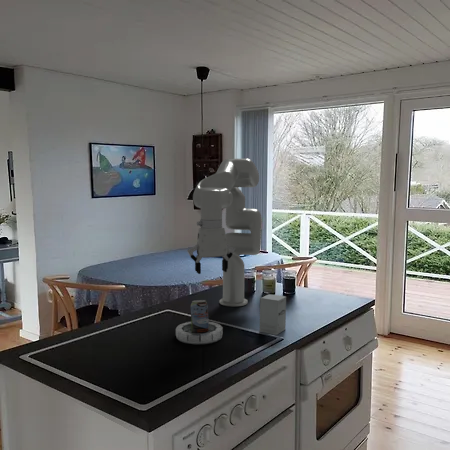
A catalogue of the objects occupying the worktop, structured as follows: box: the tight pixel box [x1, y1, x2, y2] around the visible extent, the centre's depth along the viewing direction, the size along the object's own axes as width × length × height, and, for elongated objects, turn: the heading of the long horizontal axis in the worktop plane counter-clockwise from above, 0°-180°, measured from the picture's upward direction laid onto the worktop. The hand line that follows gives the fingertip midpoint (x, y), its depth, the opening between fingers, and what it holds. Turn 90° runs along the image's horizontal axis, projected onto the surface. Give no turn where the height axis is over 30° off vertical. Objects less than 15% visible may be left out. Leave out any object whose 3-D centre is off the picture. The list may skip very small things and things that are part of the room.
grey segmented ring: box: [175, 320, 224, 345], centre depth 160 cm, size 16×16×3 cm
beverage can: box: [190, 299, 209, 334], centre depth 160 cm, size 6×7×12 cm
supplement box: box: [259, 294, 287, 336], centre depth 166 cm, size 7×7×13 cm
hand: (211, 272), depth 163 cm, fingers open, 9 cm apart
